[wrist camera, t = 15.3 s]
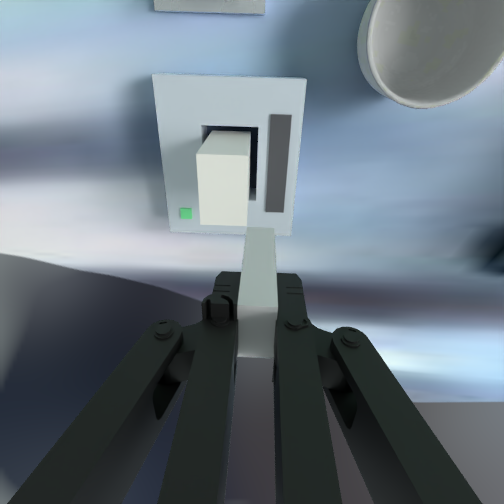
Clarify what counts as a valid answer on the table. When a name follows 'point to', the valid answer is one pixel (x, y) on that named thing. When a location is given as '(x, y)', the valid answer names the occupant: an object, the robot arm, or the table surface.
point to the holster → (212, 6)
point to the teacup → (430, 48)
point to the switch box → (230, 114)
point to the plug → (224, 178)
